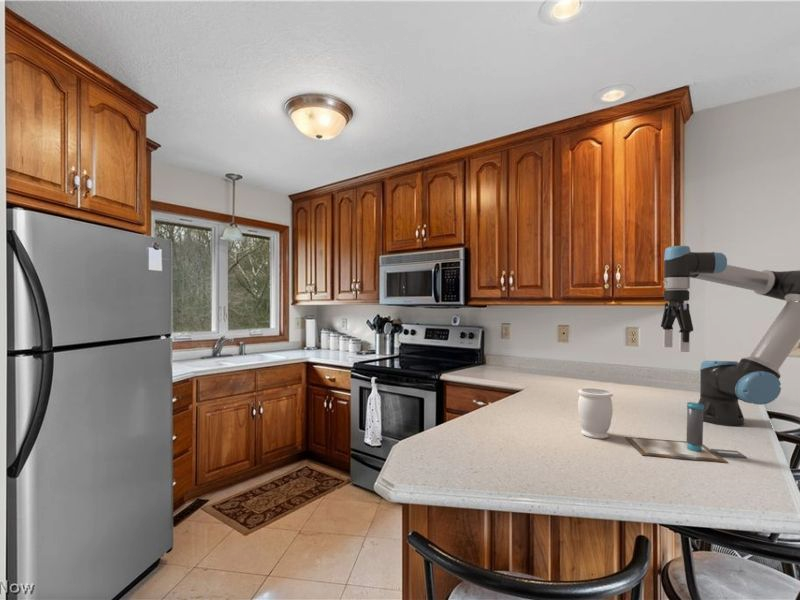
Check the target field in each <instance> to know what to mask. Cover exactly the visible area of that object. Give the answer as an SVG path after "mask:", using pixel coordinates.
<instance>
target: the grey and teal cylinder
mask: <svg viewBox="0 0 800 600" xmlns="http://www.w3.org/2000/svg"><path fill="white" fill-rule="evenodd" d="M686 407H687V408H686V441H687V449H688V450H691V451H695V452H701V451H702V445H704V444H703V443H704V442H703V441H704V439H703V438H704V437H703V434H704V421H703V410H704V405H703V404H700V403H698V402H693V401H688V402H687V403H686Z"/></svg>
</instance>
